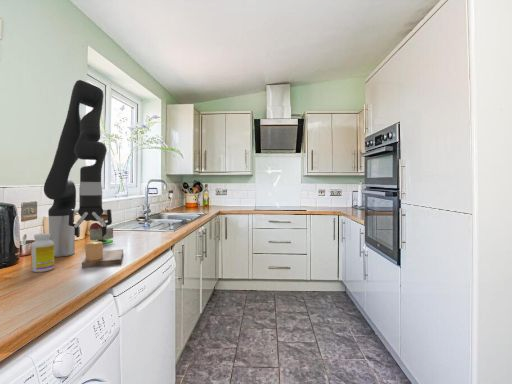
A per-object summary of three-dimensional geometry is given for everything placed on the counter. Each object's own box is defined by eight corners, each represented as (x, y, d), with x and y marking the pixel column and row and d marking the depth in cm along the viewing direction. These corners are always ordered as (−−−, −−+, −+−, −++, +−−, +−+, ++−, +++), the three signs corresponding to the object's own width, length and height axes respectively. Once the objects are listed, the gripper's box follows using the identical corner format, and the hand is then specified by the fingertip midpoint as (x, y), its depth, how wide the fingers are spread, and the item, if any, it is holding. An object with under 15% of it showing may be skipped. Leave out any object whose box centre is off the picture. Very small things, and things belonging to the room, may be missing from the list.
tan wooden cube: (84, 261, 110) (84, 245, 110) (87, 257, 115) (87, 242, 115) (101, 259, 112) (101, 243, 112) (103, 256, 117) (103, 241, 117)
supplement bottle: (59, 268, 108) (58, 233, 107) (40, 273, 102) (39, 236, 101) (45, 266, 110) (44, 232, 110) (27, 271, 104) (26, 235, 103)
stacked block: (84, 242, 154) (83, 214, 153) (109, 239, 162) (109, 212, 162) (90, 246, 145) (89, 215, 145) (117, 242, 154) (116, 213, 153)
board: (81, 268, 108) (81, 262, 108) (89, 256, 124) (89, 252, 124) (121, 264, 112) (121, 259, 112) (123, 253, 129) (123, 249, 129)
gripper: (66, 194, 106) (66, 239, 106) (110, 194, 111) (110, 237, 111) (71, 193, 113) (71, 235, 114) (112, 193, 118) (112, 234, 118)
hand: (90, 236), depth 112 cm, fingers open, 8 cm apart
